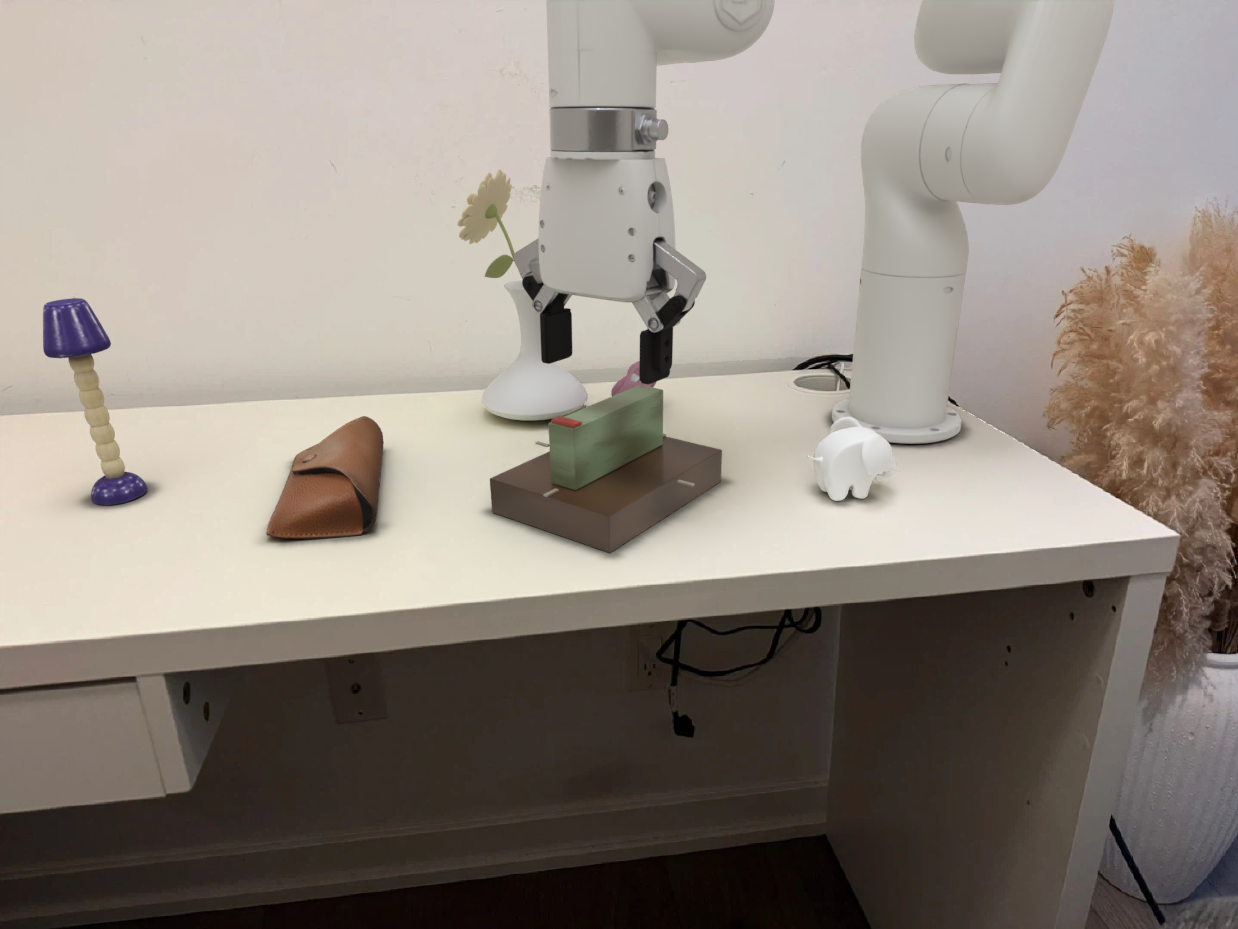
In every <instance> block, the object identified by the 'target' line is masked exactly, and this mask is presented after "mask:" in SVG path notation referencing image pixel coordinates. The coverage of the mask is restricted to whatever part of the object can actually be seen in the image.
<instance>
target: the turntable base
mask: <svg viewBox="0 0 1238 929" xmlns="http://www.w3.org/2000/svg"><path fill="white" fill-rule="evenodd" d="M535 445H537V446H541V447H545V448H550V446H549V443H545V442H542V441H535ZM722 459H723V450H722V449H720V448H717V447H716V448H715V447H711V446H707V445H704V444H700V443H695V442H690V441H686V440H682V439H678V438H675V437H670V436H667V433H663V445H661V446H659V447H657V448H655V449H653V450H651V451H649V452H648V453H646V454H644V455H642V456H640V457H638V458H636V459H634V460H632V461H630V462H629V463H627V464H625V465H623V466H621V467H619V468H617V469H615V470H613V471H611V472H610V473H608V474H606V475H604V476H602V477H600V478H598V479H596V480H594V481H592V482H591V483H589V484H587V485H585V486H583V487H581V488H579V489H577V490H573V489H569V488H566V487H563V486H559V485H556V484H553V483H551V467H550V450H549V451H547V452H545V453H543V454H540V455H538V456H536V457H534V458H532V459H529V460H527V461H525V462H523V463H521V464H519V465H516V466H514V467H512V468H509V469H508V470H506V471H502V472H501V473H499V474H497V475H493V476H492V477H490V478H489V488H490V501H491V502H490V503H491V513H493V514H496V515H499V516H502V517H505V518H507V519H511V520H514V521H517V522H520V523H522V524H525V525H527V526H528V525H529V526H530V527H534V528H537V529H540V530H543V531H545V532H548V533H551V534H554V535H557V536H560V537H563V538H566V539H569V540H572V541H574V542H577V543H580V544H583V545H586V546H589V547H592V548H594V549H597V550H601V551H604V552H606V553H609V554H610V553H612V552H614V551H615V550H617V549H618V548H620V547H621V546H624V544H626V543H628V542H629V541H631V540H632V539H634V538H636V537H637V536H639V535H640V534H642V533H643V532H644V531H646V530H648V529H650V528H651V527H653V526H654V525H656V524H658V522H660V521H662V520H664V519H665V518H666V517H668V516H670V515H671V514H673V513H674V512H676V511H678V510H679V509H680V508H682V507H684V506H685V505H688V504H689V503H690V502H691V501H693V500H695V499H696V498H698V497H699V496H701V495H702V494H704V493H705V492H707V491H708V490H710V489H712V488H713V487H715V486H716V485H718V484H719V483H721V482H722V464H723V463H722V462H723V461H722Z"/></svg>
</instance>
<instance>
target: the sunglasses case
mask: <svg viewBox="0 0 1238 929" xmlns="http://www.w3.org/2000/svg"><path fill="white" fill-rule="evenodd" d="M384 444H385V442H384V435H383V431H382V429H381V427H380V425H379V424H378V423H377V422H376V421H375V420H374V419H373V418H371V417H369V416H365V415H362V416H360V417H358V418H355V419H353V420H351V421H349V422H346V423H344V424H343V425H342V426H340V427H338V428H336V429H335V430H334V431H333V432H331V433H330V434H329V435H327V436H326V437H325V438H323V439H322V440H321V441H320V442H318V443H316V444H314V445H312V446H310V447H307V448H306V449H303V450H302V451H300V452H298V453H297V454H296V455H295V456H294V458H293V461H292V465H291V468H290V470H289V474H288V476H287V480H286V481H285V483H284V487H283V489H282V492H281V494H280V496H279V498H278V501H277V504H276V505H275V508H274V510H273V512H272V515H271V516H270V519H269V521H268V524H267V527H266V532H265V535H266V536H267V537H268V536H269V537H271V538H274V539H290V540H318V539H319V540H320V539H321V540H322V539H332V538H333V539H334V538H347V537H354V536H361V535H363V534H365V533H366V532H368V531H369V530H370V529H371V528H372V527H373V525H374V524H375V523H376V521H377V515H378V505H379V495H380V494H379V493H380V484H381V468H382V460H383V452H384Z"/></svg>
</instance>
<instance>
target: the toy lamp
mask: <svg viewBox="0 0 1238 929" xmlns="http://www.w3.org/2000/svg"><path fill="white" fill-rule="evenodd" d="M111 345H112V342H111V340H110V338H109V336H108V334H107V332H106V330H105V328H104V327H103V325H102V323H101V321H99V318H98V317H97V315H96V314H95V311H94V310H93V308H92V306H91V305H90V304H89V303H88V301H87V300H86V299H84V298H81V297H79V298H78V297H76V298H63V299H56V300H51V301H48V302H46V303H45V304H44V305H43V308H42V348H43V353H44V355H45V356H46V357H47V358H51V359H68V364H69V367H70V369H71V370H72V371H73V372H74V373H73V381H74V383H75V384H74V385H75V386H76V387H77V388H78V389H77V390H79V392H78V397H79V401H80V403H81V406H83V408H84V413H83V414H84V418H85V421H86V422H87V424H88V425H89V426H90V427H89V434H90V437H91V439H92V441H93V442H94V443H95V452H96V455H97V457H98V458H99V459H100V468H101V471H102V473H103V474H104V475H103V476H101V477H100V478H99V479H97V480H96V481H95V482H94V484H93V485H92V488H91V492H90V499H91V502H92V503H93V504H95V505H100V506H113V505H119V504H124V503H127V502H130V501H134V500H136V499H138V498H140V497H142V496H143V495H144V494H145V493H147V491H148V485H147V483H146V482H145V481H144V479H143V478H142V477H141V476H139V475H138V474H136V473H133V472H129V471H126V466H125V462H124V460H123V459H122V458H121V457H120V456H121V449H120V445H119V443H118V442H117V440H115V437H116V432H115V428H114V427H113V425H112V423H111V422H110V418H111V417H110V412H109V410H108V408H107V406H105V396H104V392H103V390H102V389H101V388H100V387H99V386H100V377H99V375H98V373H97V372H96V370H95V369H94V368H95V359H94V357H93V354H98V353H100V352H104V351H107V350H109V348H111Z"/></svg>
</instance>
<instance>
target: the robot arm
mask: <svg viewBox="0 0 1238 929" xmlns="http://www.w3.org/2000/svg"><path fill="white" fill-rule="evenodd" d="M545 3H546V30H547V32H546V33H547V35H546V36H547V38H546V39H547V64H548V65H547V67H548V68H547V70H548V71H547V72H548V73H547V74H548V103H549V105H548V107H549V112H548V114H549V139H550V140H549V142H550V143H549V146H550V147H549V148H550V156H546V157H545V161H544V166H543V171H542V172H543V173H542V179H541V180H542V181H541V188H540V198H539V212H538V238H536V239H535V240H533V241H532V242H530V243H528V244H527V245H525V246H523V247H522V248H520V249H519V250H517V251H516V252H514V253H515V254H514V260H515V262H514V263H516V264H515V266H516V265H517V266H516V268H517V270H518V273H519V275H520V278H522V277H523V279H522V280H523V281H522V285H523V287H524V289H525V291H526V292H527V293H528V295H529V296H530V298H531V299H532V301H533V303H532V307H533V309H534V311H535V312H536V313H540V333H541V360H542V362H543V363H547V364H550V363H553V362H554V363H557V362H559V361H562V360H565V359H569V358H571V357H572V356H573V318H572V317H573V316H572V315H573V314H572V310H571V309H572V308H569V307H565V306H566V304H567V303H568V302H569V301H570V299H571V298H572V296H577V297H584V298H589V299H590V298H591V299H597V300H604V301H612V302H620V303H632V305H633V307H634V309H635V310H636V312H637V313H638V315H639V316H640V318H641V320H642V321H643V323H644V324H645V326H646V328H647V329H644V330H640V333H639V361H640V366H639V379H640V381H641V383H643V384H648V385H649V384H651V383H654V382H656V383H658V382H660V381H661V380H664V379H666V378H668V377H669V376H670V375H671V374H670V373H671V368H672V365H673V353H674V352H673V351H674V350H673V346H674V344H673V343H674V327H677V326H678V325H679V324H681V320H682V319H683V318H684V317H685V316H686V315H687V314H688V313H690V311H691V310H692V309H693V308H694V307H695V303H696V299H697V298H698V296H699V294H700V293H701V290H702V289H703V286H704V285H705V282H706V280H707V274H706V271H705V270H703V269H702V268H701V267H700V266H698V265H697V264H695V263H694V262H692V261H691V260H690V259H688V257H686V256H685V255H683V254H682V253H681V252H679V251H678V250H677V248H676V228H675V214H674V213H675V212H674V204H673V195H672V194H673V193H672V188H671V187H672V186H671V182H670V176H669V171H668V166H667V163H666V162H667V161H666V158H665V157H656V149H657V141H665V140H666V139H667V137H668V136H669V124H668V122H667V120H666V119H661V118H660V119H658V118H657V116H658V115H657V114H658V113H657V112H658V111H657V109H656V108H657V67H658V66H659V67H660V66H667V65H675V64H685V63H687V64H696V63H704V62H716V61H722V60H725V59H729V58H732V57H735V56H737V55H741V53H743V52H745V51H747V50H748V49H749V48H751V47H752V46H753V45H754V44H756V43H757V42H758V40H759V39H760V38H761V37H762V36H763V34H764V33H765V31H766V30H767V28H768V26H769V24H770V22H771V20H772V17H773V13H774V9H775V3H776V0H546V2H545ZM1114 5H1115V0H921V2H920V6H919V10H918V14H917V18H916V23H915V29H914V34H913V35H914V36H913V41H914V50H915V53H916V56H917V58H918V60H919V61H920V62H921V64H922V65H924V67H926V68H928V69H929V70H931V71H933V72H937V73H939V74H945V75H990V74H1000V75H999V78H998V81H997V82H986V83H984V82H983V83H947V84H945V83H944V84H929V85H927V84H926V85H920V86H913V87H910V88H906V89H902V90H899V91H897V92H895V93H894V94H891V95H890V96H888V97H887V98H885V99H883V101H881V102H880V103H879V104H878V105H877V106H876V107H875V108H874V110H873V111H872V112H871V114H870V115H869V117H868V119H867V121H866V124H865V126H864V129H863V132H862V135H861V136H862V137H861V142H860V164H861V166H860V168H861V175H862V186H863V196H864V233H863V246H862V257H861V268H860V277H859V288H858V298H857V310H856V321H855V330H854V341H853V342H854V343H853V351H852V352H853V353H852V363H851V374H850V385H849V393H848V394H849V396H848V398H844V399H842V400H839V401H838V402H837V403H836V404H834V405H833V407H832V411H831V420H832V422H833V423H834V422H835V421H836V420H838V419H840V418H843V417H852V418H854V419H856V420H857V421H858V422H859V424H860V425H861V426H862V427H865V428H868V429H871V430H873V431H875V432H876V433H877V434H879V435H880V436H882V437H883V438H884V439H886V440H887V441H888V442H889V443H890V444H891V443H892V444H893V443H894V444H909V445H910V444H911V445H912V444H913V445H914V444H915V445H917V444H918V445H919V444H930V443H937V442H942V441H946V440H948V439H951V438H953V437H955V436H957V435H958V434H959V433H960V431H961V429H962V422H963V419H962V416H961V415H960V414H959V413H958V412H957V410H955V409H953V408H952V407H950V406H948V404H949V395H950V390H951V389H950V388H951V383H952V374H953V367H954V360H955V353H956V346H957V340H958V332H959V325H960V318H961V317H960V316H961V311H962V304H963V303H962V302H963V296H964V290H965V289H964V288H965V281H966V274H967V271H968V270H967V268H968V263H969V262H968V261H969V254H970V252H969V251H970V250H969V249H970V248H969V247H970V246H969V245H970V244H969V235H968V231H967V228H966V227H967V226H966V223H965V221H964V217H963V215H962V212H961V209H960V206H959V203H967V204H978V205H979V204H980V205H996V206H1012V205H1017V204H1022V203H1025V202H1027V201H1029V200H1031V199H1033V198H1034V197H1036V196H1038V195H1039V194H1040V193H1041V192H1042V191H1043V190H1044V189H1045V188H1046V187H1047V186H1048V184H1049V183H1050V182H1051V180H1052V178H1053V177H1054V176H1055V174H1056V172H1057V170H1058V168H1059V167H1060V164H1061V162H1062V160H1063V157H1064V155H1065V153H1066V150H1067V148H1068V145H1069V142H1070V140H1071V137H1072V134H1073V132H1074V128H1075V126H1076V123H1077V120H1078V118H1079V115H1080V113H1081V109H1082V106H1083V104H1084V101H1085V99H1086V96H1087V93H1088V90H1089V87H1090V85H1091V82H1092V79H1093V76H1094V73H1095V71H1096V68H1097V66H1098V62H1099V61H1100V58H1101V54H1102V51H1103V49H1104V47H1105V43H1106V39H1107V36H1108V33H1109V29H1110V26H1111V22H1112V18H1113V14H1114ZM539 265H540V267H539ZM676 282H677V285H676ZM675 285H676V289H675V290H674V288H675ZM673 290H674V291H675V293H674V295H673V296H672V297H670V296H669V295H668V294H669V293H670V292H672V291H673Z"/></svg>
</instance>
